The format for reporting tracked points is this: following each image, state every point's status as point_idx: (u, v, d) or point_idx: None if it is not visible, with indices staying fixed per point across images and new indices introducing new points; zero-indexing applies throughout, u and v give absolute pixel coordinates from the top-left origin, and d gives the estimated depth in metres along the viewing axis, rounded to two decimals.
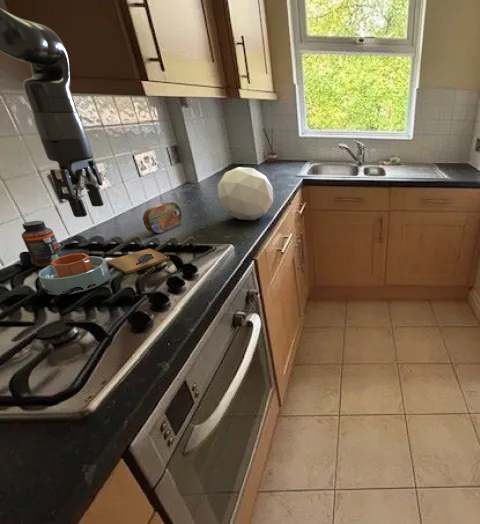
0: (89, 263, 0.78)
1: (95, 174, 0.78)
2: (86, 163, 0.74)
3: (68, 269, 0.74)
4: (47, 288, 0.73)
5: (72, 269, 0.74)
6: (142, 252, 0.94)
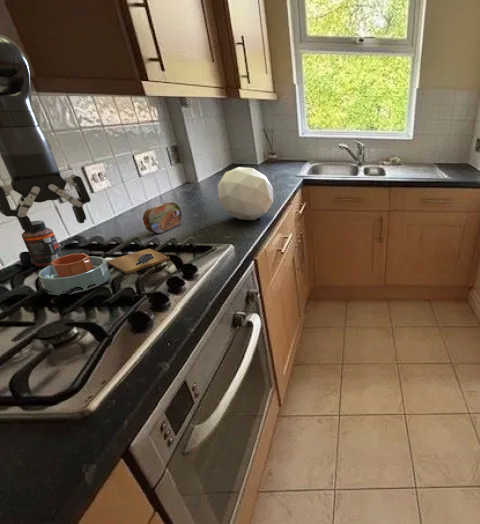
0: (89, 263, 0.78)
1: (79, 190, 0.74)
2: (58, 179, 0.70)
3: (68, 269, 0.74)
4: (47, 288, 0.73)
5: (72, 269, 0.74)
6: (142, 252, 0.94)
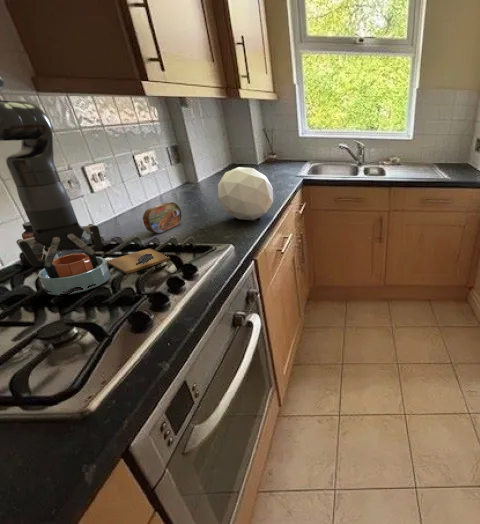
0: (89, 263, 0.78)
1: (94, 238, 0.78)
2: (76, 228, 0.75)
3: (68, 269, 0.74)
4: (47, 288, 0.73)
5: (72, 269, 0.74)
6: (142, 252, 0.94)
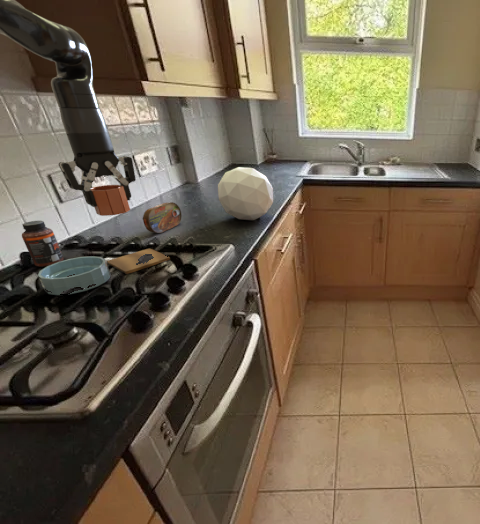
0: (123, 193, 0.81)
1: (128, 170, 0.82)
2: (112, 157, 0.78)
3: (105, 195, 0.77)
4: (47, 288, 0.73)
5: (109, 195, 0.78)
6: (142, 252, 0.94)
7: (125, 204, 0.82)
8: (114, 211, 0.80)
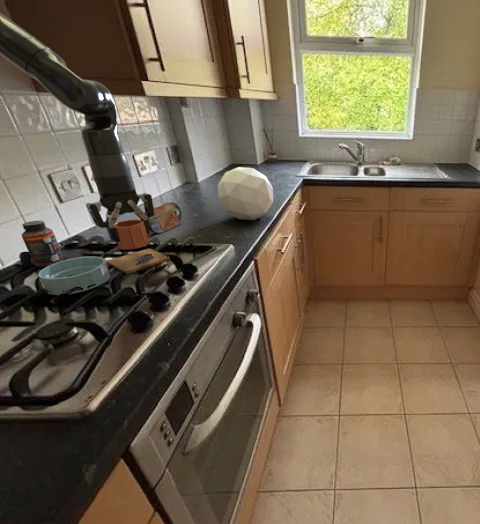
0: (144, 227, 0.87)
1: (147, 206, 0.88)
2: (134, 195, 0.84)
3: (128, 231, 0.84)
4: (47, 288, 0.73)
5: (131, 231, 0.84)
6: (142, 252, 0.94)
7: (145, 238, 0.88)
8: (135, 245, 0.86)
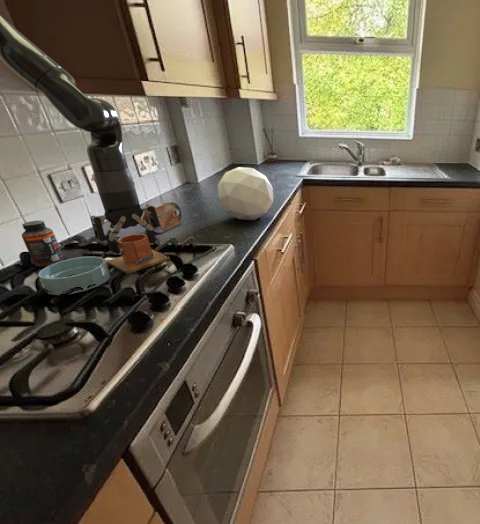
0: (148, 242, 0.89)
1: (152, 217, 0.89)
2: (138, 209, 0.86)
3: (132, 246, 0.85)
4: (47, 288, 0.73)
5: (135, 246, 0.86)
6: None
7: (149, 252, 0.90)
8: None
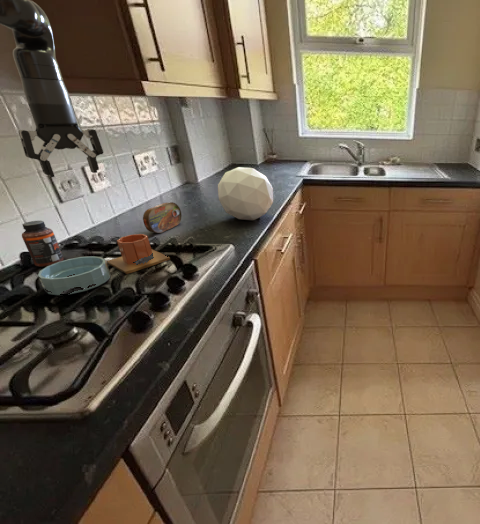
0: (148, 242, 0.89)
1: (94, 142, 0.83)
2: (76, 130, 0.79)
3: (132, 246, 0.85)
4: (47, 288, 0.73)
5: (135, 246, 0.86)
6: None
7: (149, 252, 0.90)
8: None
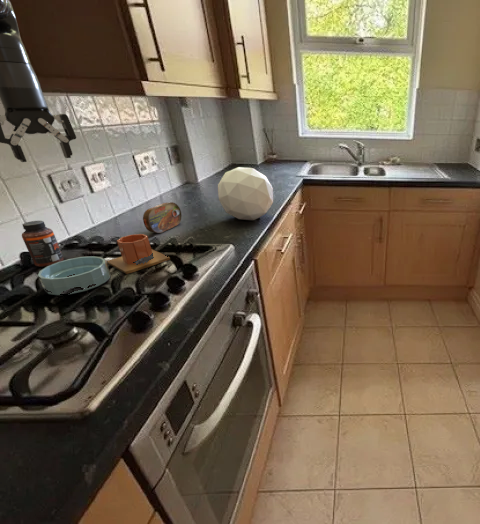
0: (148, 242, 0.89)
1: (66, 127, 0.83)
2: (46, 115, 0.80)
3: (132, 246, 0.85)
4: (47, 288, 0.73)
5: (135, 246, 0.86)
6: None
7: (149, 252, 0.90)
8: None
